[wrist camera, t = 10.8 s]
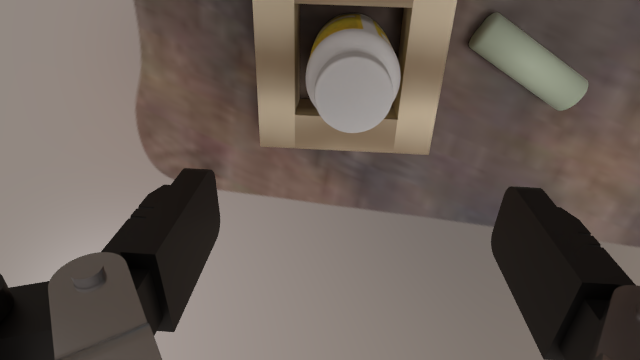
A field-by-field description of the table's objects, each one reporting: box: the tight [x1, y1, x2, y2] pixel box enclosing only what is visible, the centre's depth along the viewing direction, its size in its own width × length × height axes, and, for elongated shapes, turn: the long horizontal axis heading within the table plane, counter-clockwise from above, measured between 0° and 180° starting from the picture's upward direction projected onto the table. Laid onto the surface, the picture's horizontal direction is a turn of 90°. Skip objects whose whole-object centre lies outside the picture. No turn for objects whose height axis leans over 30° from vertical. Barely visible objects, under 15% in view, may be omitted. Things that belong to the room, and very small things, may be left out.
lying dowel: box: [469, 12, 588, 111], centre depth 27 cm, size 8×3×3 cm
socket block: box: [252, 0, 457, 155], centre depth 26 cm, size 12×12×4 cm
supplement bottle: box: [306, 13, 401, 133], centre depth 24 cm, size 5×5×10 cm
